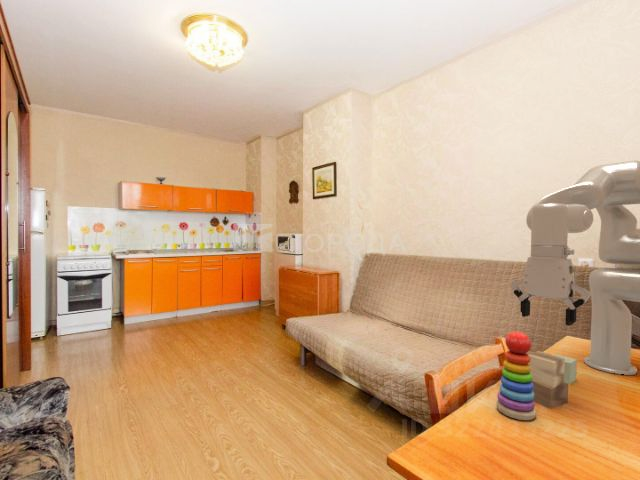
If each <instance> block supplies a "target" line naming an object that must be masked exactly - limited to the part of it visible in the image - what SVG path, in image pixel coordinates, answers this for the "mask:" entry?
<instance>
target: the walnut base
mask: <svg viewBox="0 0 640 480" xmlns="http://www.w3.org/2000/svg"><path fill="white" fill-rule="evenodd" d="M531 382H532V383H533V386H534V388H533V392H534V395H535V396H534V399H533V400H534V403H537V404H539V405H541V406H543V407H545V408H548V409H550V410H552V409H554V408H557V407H560V406H563V405H567V404H568V403H569V384H568V383H565V382H563V383H561V384H560V385H558V386H556V387H555V388H553V387H550V386H547V385H544V384H541V383H538V382H536V381H533V380H531Z"/></svg>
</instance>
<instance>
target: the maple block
mask: <svg viewBox="0 0 640 480" xmlns="http://www.w3.org/2000/svg"><path fill="white" fill-rule="evenodd" d="M528 355H529V356H530V362H529V363H528V364H529V365H530V367H531V371H530V373H531V374H532V380H533V381H536V382H538V383H541V384H544V385H547V386H550V387H553V388H555V387H556V386H558V385H560V384H561V383H563V382H564V366H565V358H562V357H559V356H555V355H556V354H551V353H549V352H544V351H540V350H537V351H534V352H532V353H530V354H528Z"/></svg>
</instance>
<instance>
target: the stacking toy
mask: <svg viewBox="0 0 640 480" xmlns="http://www.w3.org/2000/svg"><path fill="white" fill-rule="evenodd" d="M505 345H506V347H507V349H508V350H507V351H506V352H505V355H504V357H505V359H504V361H503V362H502V365H503V368H502V370H501V371H502V375H501V379H500V383H501V384H500V385H499V391H498V392H497V397H496V398H497V401H496V408H497V409H498V411H500V412H501V414H503V415H505V416H507V417H509V418H512V419H515V420H519V421H531V420H533V419H535V418H536V416H537V410H536V409H535V407H536V402H535V401H534V400H533V399H534V396H535V395H534V392H533V388H534V386H533V383H532V382H531V380H532V374H531V373H530V371H531V367H530V365H529V364H528V363H529V362H530V356H529V354H528V352H529V351H530V350H531V347H532V342H531V339H530V338H529V337H528V335H526V334H525V333H523V332H520V331H512V332H510V333H508V335H507V336H506V338H505Z"/></svg>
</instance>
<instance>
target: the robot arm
mask: <svg viewBox="0 0 640 480" xmlns="http://www.w3.org/2000/svg"><path fill="white" fill-rule="evenodd" d="M625 205H640V160H629V161H622V162H615V163H609V164H608V163H606V164H601V165H598V166H594V167H592V168H590V169H588V170H587V171H586V172H585V173H584V174H583V175H581V177H580V178H579V179H578V180H577V181H576V182H575V183H574V184H573V185H570V186H567V187H564V188H562V189H559V190H558V191H555V192H552V193H549V194H547V195H545V196H543V197H542V198H540V199H539V200H538V201H536V202H535V203H534V204H533V205H532V206H531V208H530V209H529V211H528V212H527V215H526V226H527V227H528V229H529V230H530V235H531V236H530V256H528V257H527V259H526V260H527V261H526V263H525V268H524V274H523V278H521V279H518V280H515V281H512V282H511V283H510V287H511V289H512V291H513V294H514V295H515V296H516V297H517V298H518V301H519V302H520V308H519V309H520V313H521V317H523V318H526V317H528V316H530V315H531V301H530V300H529V299H530V298H531V297H537V298H544V299H551V300H559V301H562V302H563V303H564V304H565V306H567V308H566V309H565V325H566V326H568V327H570V326H572V325H574V323H576V322H577V309H578V308H580V307H581V306H583V305H584V304H586V302H587V301H588V300H589V298H590V297H591V318H590V319H591V325H590V350H589V351H590V353H589V354H590V355H589V356H586V357H584V358H583V362H584V364H586V365H587V366H589V367H591V368H593V369H596V370H598V371H602V372H604V373H605V372H606V373H610V374H614V373H615V374H614V375H621V374H624V375H623V376H634V375H637V374H636V373H638V369H637V367H636V366H635V365H632V364H631V355H632V353H631V352H632V330H633V329H632V326H633V324H632V323H633V315H632V312H631V310H630V309H629V307H628V306H627V304H625V302H624V301H629V302H636V303H640V270H639V269H628V268H616V267H600V268H599V267H598V268H595V269H594V270H592V271H591V272H590V274H589V275H588V285H589V290H588V289H586V288H583V287H581V286H580V285H578V284H576V283H575V273H574V266H573V262H572V259H571V258H568V257H569V256H570V255H574V254H575V249H573V248H569V246H568V235H569V234H578V233H579V234H580V233H584V232H586V231H588V230H589V229H590V228H591V226H592V225H593V223H594V213H593V212H592V210H593V209H595V210H596V211H597V213H598V215H599V218H600V231H599V240H598V258H599V260H601V262H602V263H605V264H606V263H607V264H610V265H611V264H612V265H622V266H634V267H635V266H636V267H640V234H637V227H638V220H637V217H636V216H635V215H634V213H632V211H630V210H629V209H628V208H627V207H625ZM521 285H522V286H523V287H522V289H523V291H522V290H521V289H520V287H519V286H521ZM576 293H577V294H580V297H579V298H578V299H577V300H576V299H574V297H575V294H576Z"/></svg>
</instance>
